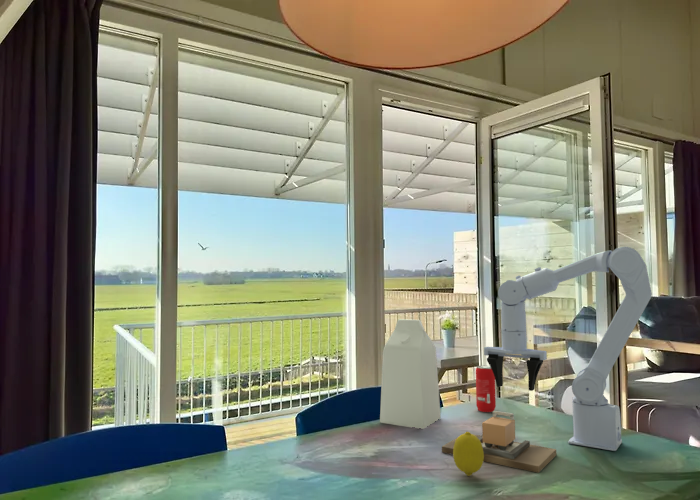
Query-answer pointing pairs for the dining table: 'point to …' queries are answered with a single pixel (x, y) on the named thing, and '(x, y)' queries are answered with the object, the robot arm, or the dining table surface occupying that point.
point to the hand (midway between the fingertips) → (515, 388)
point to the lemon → (468, 453)
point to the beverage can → (485, 389)
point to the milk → (409, 377)
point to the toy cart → (499, 430)
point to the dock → (513, 454)
